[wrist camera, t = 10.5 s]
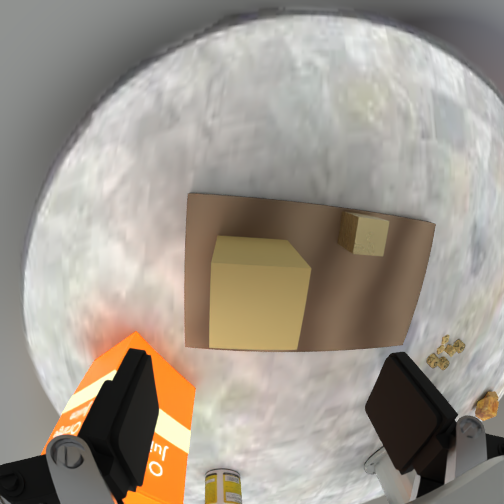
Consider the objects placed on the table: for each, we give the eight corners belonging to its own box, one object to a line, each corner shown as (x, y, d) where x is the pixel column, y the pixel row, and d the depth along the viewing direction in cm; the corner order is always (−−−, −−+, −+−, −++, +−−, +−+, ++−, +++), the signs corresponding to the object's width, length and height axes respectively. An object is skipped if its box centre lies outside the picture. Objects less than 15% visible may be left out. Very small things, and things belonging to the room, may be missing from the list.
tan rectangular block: (287, 240, 20) (311, 268, 14) (279, 302, 22) (296, 349, 15) (217, 235, 20) (211, 262, 14) (214, 299, 21) (209, 347, 15)
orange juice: (136, 329, 23) (49, 524, 4) (197, 388, 25) (182, 571, 6) (92, 360, 24) (15, 508, 5) (148, 410, 26) (115, 558, 7)
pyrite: (492, 383, 33) (478, 390, 36) (488, 409, 29) (474, 416, 32) (502, 391, 32) (489, 398, 35) (498, 417, 27) (484, 423, 30)
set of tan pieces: (458, 339, 28) (466, 345, 26) (436, 367, 29) (443, 375, 27) (446, 326, 27) (454, 334, 25) (421, 358, 28) (429, 366, 26)
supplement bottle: (208, 481, 32) (207, 528, 22) (203, 468, 30) (200, 520, 21) (241, 480, 32) (244, 528, 23) (239, 467, 30) (242, 520, 21)
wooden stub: (370, 215, 20) (389, 221, 18) (365, 246, 21) (382, 256, 18) (342, 211, 20) (358, 216, 17) (337, 243, 21) (352, 254, 18)
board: (428, 221, 22) (435, 224, 21) (397, 339, 26) (402, 344, 24) (190, 193, 20) (187, 193, 19) (187, 339, 24) (185, 346, 22)
